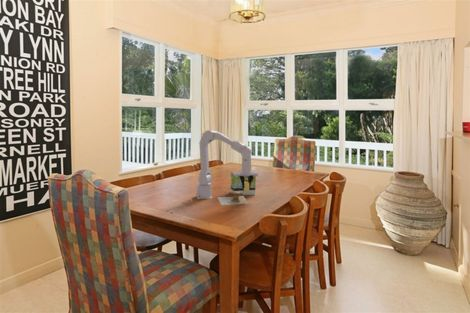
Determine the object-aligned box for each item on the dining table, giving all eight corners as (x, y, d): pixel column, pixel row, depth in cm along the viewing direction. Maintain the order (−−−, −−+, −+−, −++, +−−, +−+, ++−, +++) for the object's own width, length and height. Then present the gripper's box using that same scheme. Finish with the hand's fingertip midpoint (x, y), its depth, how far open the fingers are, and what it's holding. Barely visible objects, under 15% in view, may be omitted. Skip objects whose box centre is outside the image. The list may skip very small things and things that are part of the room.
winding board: (221, 205, 186) (221, 196, 185) (217, 198, 203) (217, 189, 203) (247, 204, 189) (247, 195, 188) (241, 197, 206) (241, 188, 205)
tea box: (234, 196, 208) (234, 174, 206) (230, 193, 218) (230, 172, 216) (255, 195, 212) (255, 173, 210) (250, 191, 222) (251, 171, 220)
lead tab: (243, 189, 197) (243, 181, 196) (248, 189, 197) (248, 181, 197) (244, 190, 194) (244, 182, 193) (249, 190, 194) (249, 182, 194)
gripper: (236, 167, 189) (236, 189, 190) (259, 166, 191) (259, 188, 193) (233, 165, 196) (233, 187, 197) (256, 165, 198) (256, 186, 200)
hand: (246, 187), depth 196 cm, fingers closed on lead tab, 3 cm apart
